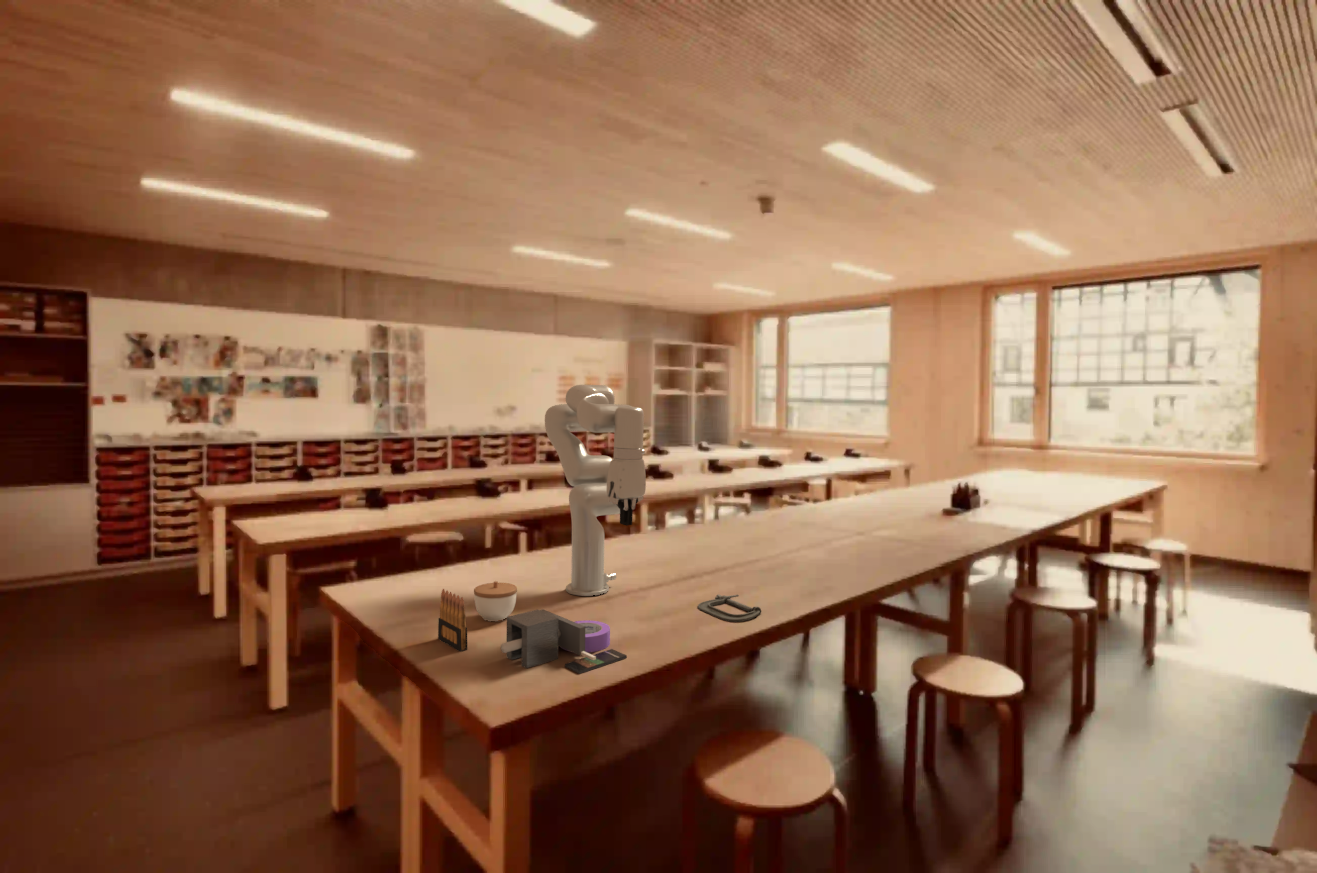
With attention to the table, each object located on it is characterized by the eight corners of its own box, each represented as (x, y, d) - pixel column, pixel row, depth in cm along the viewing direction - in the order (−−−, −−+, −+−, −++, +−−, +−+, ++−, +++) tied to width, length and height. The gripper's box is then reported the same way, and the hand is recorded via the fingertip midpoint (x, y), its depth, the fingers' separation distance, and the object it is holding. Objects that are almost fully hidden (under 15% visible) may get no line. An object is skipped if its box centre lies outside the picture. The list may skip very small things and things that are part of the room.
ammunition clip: (437, 639, 158) (437, 588, 158) (445, 637, 160) (445, 587, 159) (460, 652, 151) (460, 598, 150) (467, 649, 152) (467, 597, 151)
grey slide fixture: (578, 636, 161) (578, 599, 161) (626, 657, 149) (627, 617, 148) (506, 657, 148) (506, 616, 147) (553, 682, 135) (553, 638, 135)
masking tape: (548, 644, 157) (549, 627, 157) (587, 631, 166) (587, 616, 165) (581, 658, 149) (582, 640, 149) (620, 644, 158) (620, 628, 157)
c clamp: (686, 605, 190) (686, 595, 190) (737, 597, 198) (737, 588, 198) (727, 627, 172) (727, 616, 172) (781, 617, 180) (781, 607, 180)
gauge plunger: (543, 634, 159) (543, 609, 159) (597, 659, 145) (597, 631, 144) (483, 650, 148) (483, 623, 148) (535, 679, 134) (536, 649, 134)
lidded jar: (523, 613, 178) (523, 577, 178) (506, 626, 168) (506, 589, 167) (485, 609, 180) (485, 574, 180) (466, 622, 170) (466, 585, 169)
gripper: (640, 451, 183) (637, 518, 185) (596, 454, 173) (594, 525, 174) (659, 454, 178) (656, 523, 179) (615, 457, 167) (612, 530, 169)
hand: (625, 524), depth 177 cm, fingers closed
